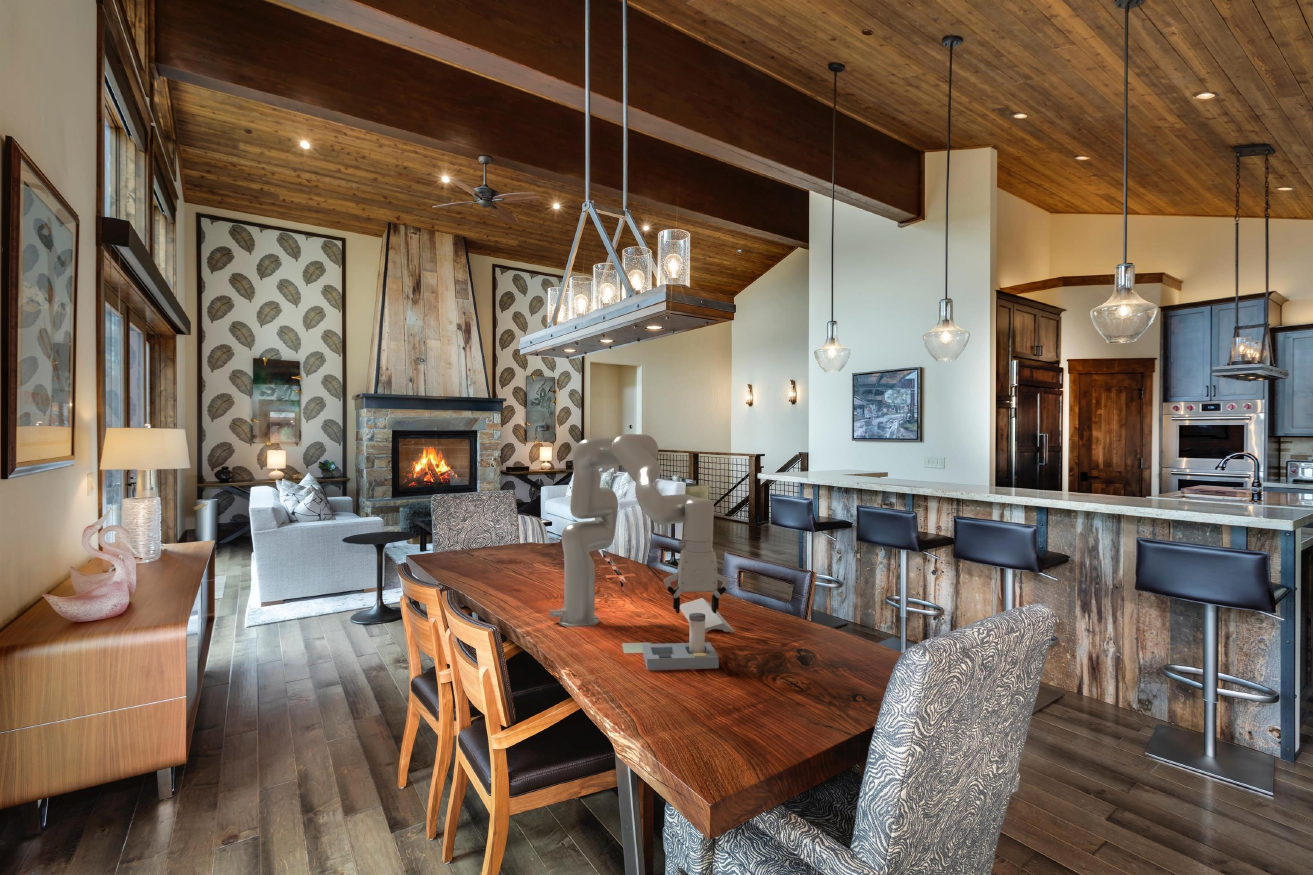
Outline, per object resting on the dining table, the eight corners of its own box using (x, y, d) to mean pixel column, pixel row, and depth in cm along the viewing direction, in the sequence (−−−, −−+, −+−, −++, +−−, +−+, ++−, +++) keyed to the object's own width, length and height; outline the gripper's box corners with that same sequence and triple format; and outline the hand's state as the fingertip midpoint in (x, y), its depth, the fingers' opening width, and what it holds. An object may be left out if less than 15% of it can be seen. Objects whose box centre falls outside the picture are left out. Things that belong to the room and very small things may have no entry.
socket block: (647, 674, 154) (647, 657, 154) (642, 659, 165) (643, 642, 165) (718, 672, 156) (718, 655, 156) (709, 657, 167) (709, 641, 167)
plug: (690, 668, 159) (690, 617, 159) (687, 662, 163) (688, 612, 163) (706, 667, 160) (706, 617, 160) (703, 661, 164) (703, 612, 164)
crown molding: (678, 608, 216) (679, 598, 216) (713, 607, 218) (713, 597, 218) (696, 635, 187) (697, 623, 187) (736, 634, 189) (736, 622, 189)
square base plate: (623, 657, 166) (623, 653, 166) (621, 647, 174) (621, 643, 174) (653, 656, 167) (653, 652, 167) (650, 646, 175) (650, 642, 175)
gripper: (666, 548, 157) (664, 616, 157) (734, 549, 159) (731, 616, 159) (663, 543, 164) (660, 607, 165) (727, 543, 166) (725, 607, 167)
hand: (695, 611), depth 162 cm, fingers open, 9 cm apart
